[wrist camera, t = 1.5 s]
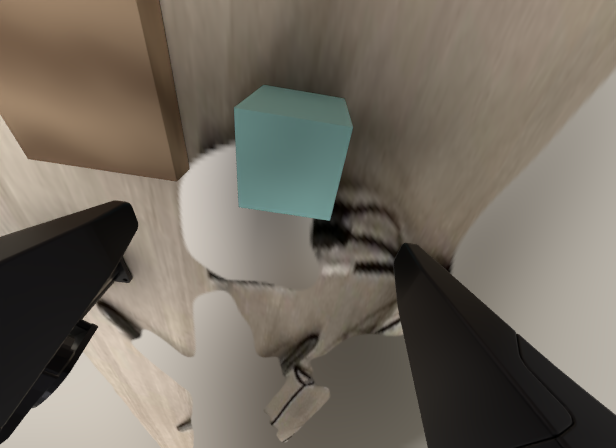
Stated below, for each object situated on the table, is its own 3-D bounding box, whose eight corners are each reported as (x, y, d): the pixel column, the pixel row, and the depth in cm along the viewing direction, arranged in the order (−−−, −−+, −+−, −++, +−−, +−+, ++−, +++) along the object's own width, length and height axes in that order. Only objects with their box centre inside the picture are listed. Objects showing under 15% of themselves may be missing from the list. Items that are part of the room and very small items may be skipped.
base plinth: (189, 168, 18) (176, 181, 17) (54, 148, 18) (28, 158, 16) (145, -74, 11) (115, -93, 9) (-88, -120, 10) (-162, -147, 9)
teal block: (328, 171, 18) (329, 220, 13) (262, 161, 18) (238, 206, 13) (344, 98, 15) (352, 127, 10) (263, 84, 15) (233, 107, 10)
